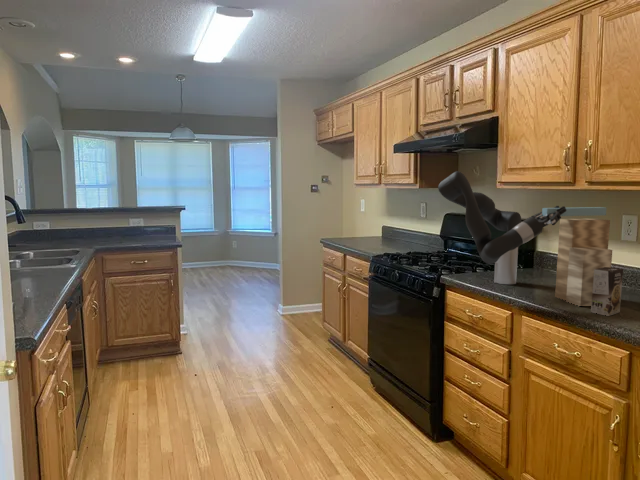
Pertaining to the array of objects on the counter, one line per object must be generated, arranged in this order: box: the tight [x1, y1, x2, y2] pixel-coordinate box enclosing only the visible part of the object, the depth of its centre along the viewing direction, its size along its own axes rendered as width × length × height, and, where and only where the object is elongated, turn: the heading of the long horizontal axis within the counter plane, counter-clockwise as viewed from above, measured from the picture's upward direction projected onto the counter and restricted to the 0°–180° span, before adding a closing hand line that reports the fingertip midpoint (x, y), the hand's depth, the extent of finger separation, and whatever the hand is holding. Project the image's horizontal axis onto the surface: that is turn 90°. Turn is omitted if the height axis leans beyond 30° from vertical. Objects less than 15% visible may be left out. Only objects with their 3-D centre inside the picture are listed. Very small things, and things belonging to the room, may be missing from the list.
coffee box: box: [590, 267, 624, 317], centre depth 176 cm, size 9×6×16 cm
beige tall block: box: [565, 247, 613, 307], centre depth 188 cm, size 12×8×22 cm, turn 100°
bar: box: [541, 206, 607, 217], centre depth 192 cm, size 26×3×3 cm, turn 100°
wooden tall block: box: [554, 218, 611, 301], centre depth 196 cm, size 16×8×32 cm, turn 100°
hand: (561, 208), depth 191 cm, fingers closed on bar, 3 cm apart
